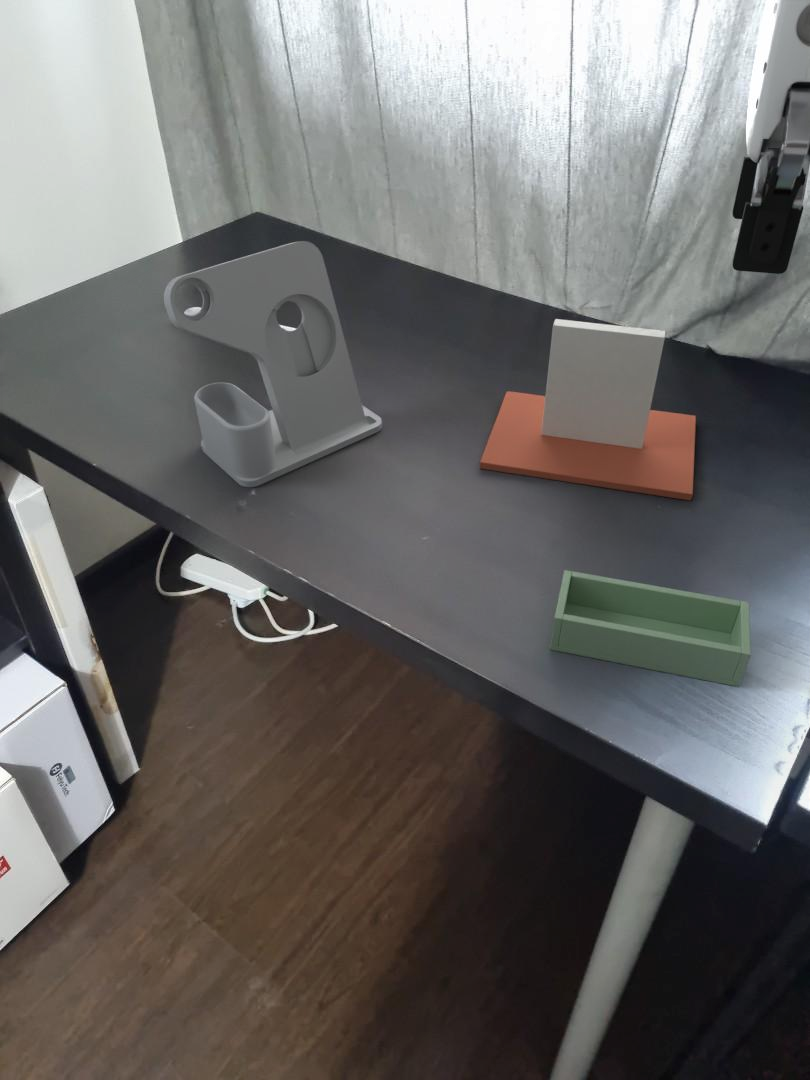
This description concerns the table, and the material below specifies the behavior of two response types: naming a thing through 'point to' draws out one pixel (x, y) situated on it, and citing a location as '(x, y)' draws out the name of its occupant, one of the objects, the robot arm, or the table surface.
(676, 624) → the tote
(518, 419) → the mat
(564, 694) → the table surface
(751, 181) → the robot arm
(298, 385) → the phone holder
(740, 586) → the table surface
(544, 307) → the table surface
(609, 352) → the board
